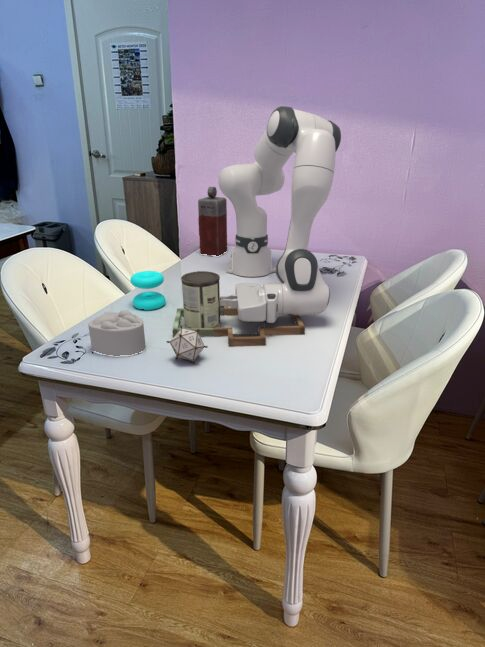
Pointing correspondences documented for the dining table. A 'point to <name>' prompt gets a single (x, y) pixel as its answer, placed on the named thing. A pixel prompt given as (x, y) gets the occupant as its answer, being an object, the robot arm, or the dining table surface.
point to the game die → (187, 344)
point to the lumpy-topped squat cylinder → (117, 333)
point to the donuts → (147, 282)
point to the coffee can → (201, 299)
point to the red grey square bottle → (212, 223)
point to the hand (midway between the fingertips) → (219, 301)
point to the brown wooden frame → (246, 338)
